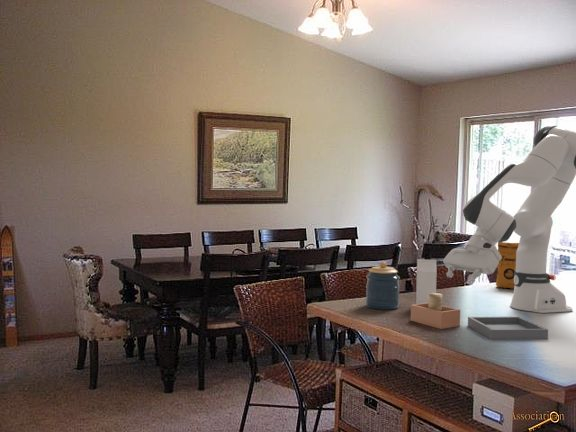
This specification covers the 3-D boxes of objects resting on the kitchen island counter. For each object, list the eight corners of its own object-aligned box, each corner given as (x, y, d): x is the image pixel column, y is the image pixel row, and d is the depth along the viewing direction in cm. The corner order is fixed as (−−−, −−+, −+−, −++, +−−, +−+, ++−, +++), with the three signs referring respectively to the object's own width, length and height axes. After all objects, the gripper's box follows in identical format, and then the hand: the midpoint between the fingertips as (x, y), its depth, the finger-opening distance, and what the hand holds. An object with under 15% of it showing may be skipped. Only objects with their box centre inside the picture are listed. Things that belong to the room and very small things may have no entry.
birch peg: (438, 321, 196) (439, 293, 196) (443, 324, 191) (444, 295, 191) (426, 321, 196) (426, 293, 195) (430, 324, 191) (431, 295, 191)
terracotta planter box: (428, 317, 202) (429, 302, 202) (459, 325, 190) (460, 309, 190) (410, 320, 197) (410, 304, 197) (441, 329, 185) (441, 312, 185)
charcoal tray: (518, 325, 192) (519, 316, 192) (547, 339, 174) (548, 329, 174) (467, 325, 190) (467, 316, 190) (491, 339, 173) (492, 329, 172)
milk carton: (435, 311, 214) (436, 261, 213) (416, 310, 215) (417, 260, 214) (434, 307, 221) (435, 259, 220) (415, 306, 222) (417, 258, 221)
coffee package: (522, 291, 261) (523, 243, 261) (494, 288, 267) (495, 242, 267) (524, 288, 270) (526, 242, 269) (497, 285, 276) (498, 240, 275)
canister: (406, 308, 218) (407, 262, 218) (380, 311, 211) (381, 264, 211) (383, 302, 229) (384, 259, 229) (358, 305, 222) (359, 260, 222)
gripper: (451, 241, 210) (432, 268, 206) (498, 246, 193) (478, 276, 188) (458, 252, 213) (440, 279, 208) (506, 258, 196) (487, 288, 191)
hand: (459, 278), depth 198 cm, fingers open, 8 cm apart
